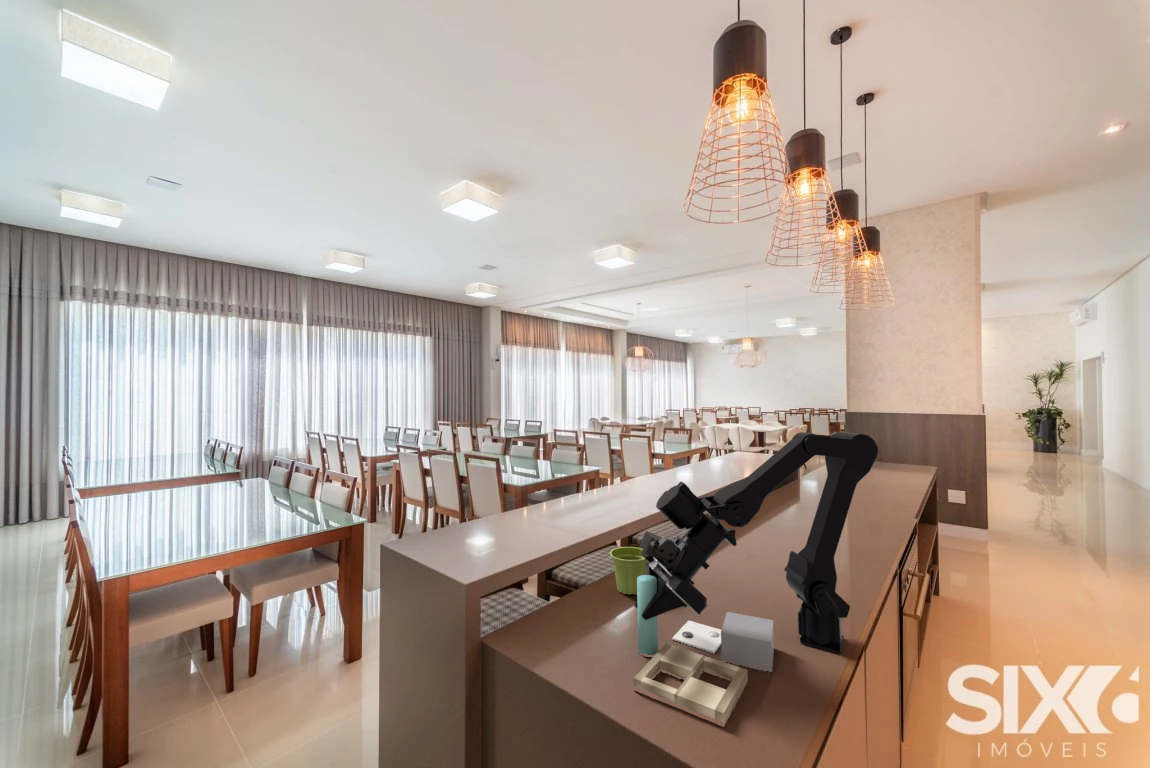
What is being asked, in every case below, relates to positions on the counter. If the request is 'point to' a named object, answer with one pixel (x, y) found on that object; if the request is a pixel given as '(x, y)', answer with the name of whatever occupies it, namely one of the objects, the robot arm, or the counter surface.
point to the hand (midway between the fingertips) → (639, 612)
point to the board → (694, 681)
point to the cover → (748, 641)
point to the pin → (650, 626)
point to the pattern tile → (699, 636)
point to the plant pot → (628, 568)
